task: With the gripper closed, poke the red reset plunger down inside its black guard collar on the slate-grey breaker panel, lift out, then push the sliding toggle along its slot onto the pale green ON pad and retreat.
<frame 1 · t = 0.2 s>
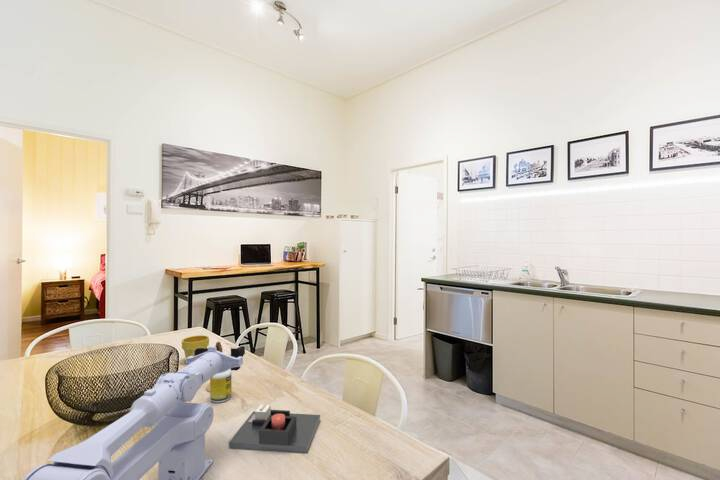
hand: (230, 349, 96), 21 cm above the table, tool horizontal, fingers open, 7 cm apart
plant pot: (195, 362, 144), on the table
hand bell: (218, 387, 120), on the table
sliding toggle: (262, 412, 96), point 4 cm above the table, slide at 0.0 cm
panel: (277, 433, 92), on the table
reset button: (278, 421, 88), point 5 cm above the table, slide at 0.0 cm
pill bottle: (221, 399, 112), on the table
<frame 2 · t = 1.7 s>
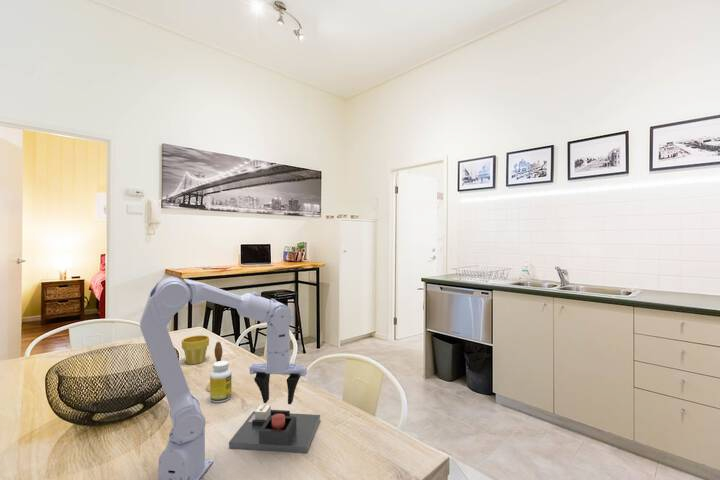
hand: (278, 401, 88), 10 cm above the table, tool pointing down, fingers open, 6 cm apart
nothing on the table moved.
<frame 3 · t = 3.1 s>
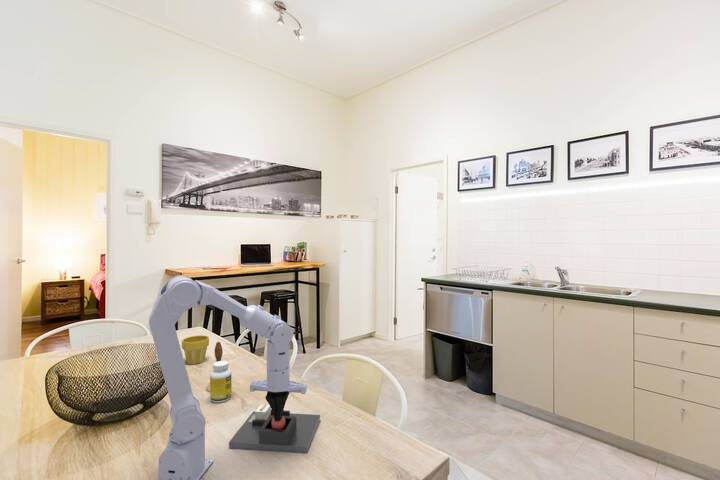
hand: (278, 419, 88), 6 cm above the table, tool pointing down, fingers closed, pressing on reset button
reset button: (278, 424, 88), point 5 cm above the table, slide at -0.6 cm, touching gripper
everything else where it was.
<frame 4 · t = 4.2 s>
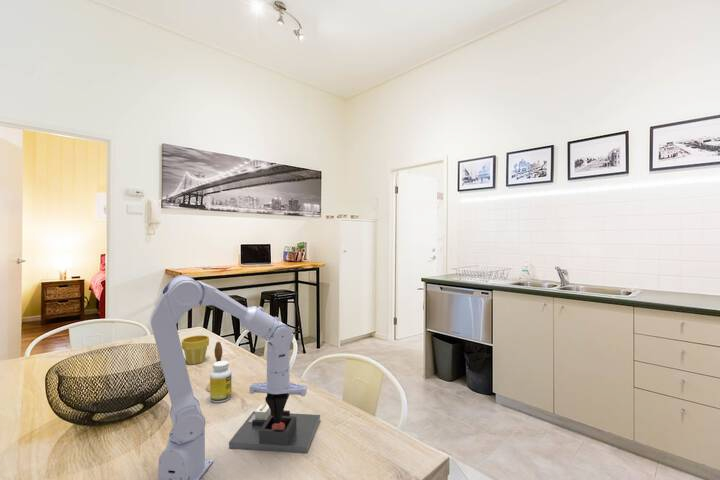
hand: (278, 421, 88), 5 cm above the table, tool pointing down, fingers closed
reset button: (278, 430, 89), point 3 cm above the table, slide at -2.3 cm
everything else where it was.
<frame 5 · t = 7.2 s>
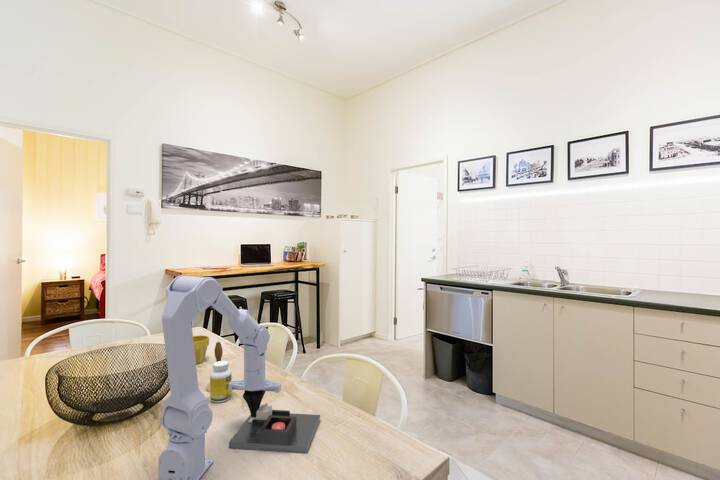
hand: (254, 415, 97), 2 cm above the table, tool pointing down, fingers closed
sliding toggle: (264, 412, 96), point 3 cm above the table, slide at 0.4 cm, touching gripper
everything else where it was.
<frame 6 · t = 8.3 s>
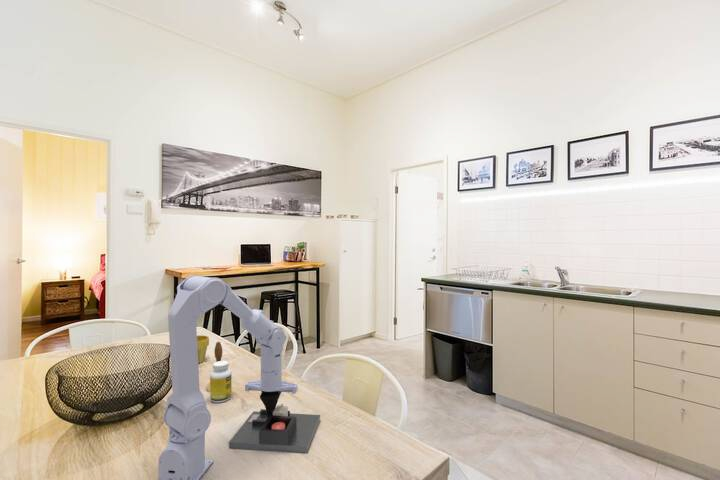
hand: (271, 416, 96), 2 cm above the table, tool pointing down, fingers closed
sliding toggle: (280, 413, 96), point 3 cm above the table, slide at 5.1 cm, touching gripper
everything else where it was.
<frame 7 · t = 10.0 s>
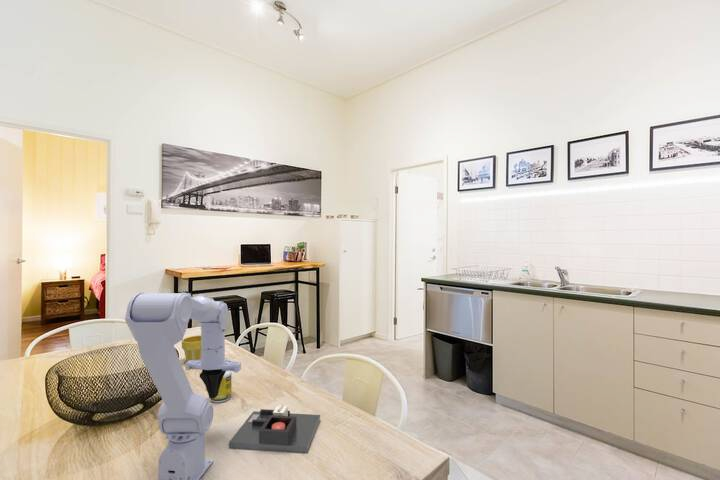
hand: (213, 396, 92), 10 cm above the table, tool pointing down, fingers closed
sliding toggle: (280, 413, 96), point 4 cm above the table, slide at 5.1 cm
everything else where it was.
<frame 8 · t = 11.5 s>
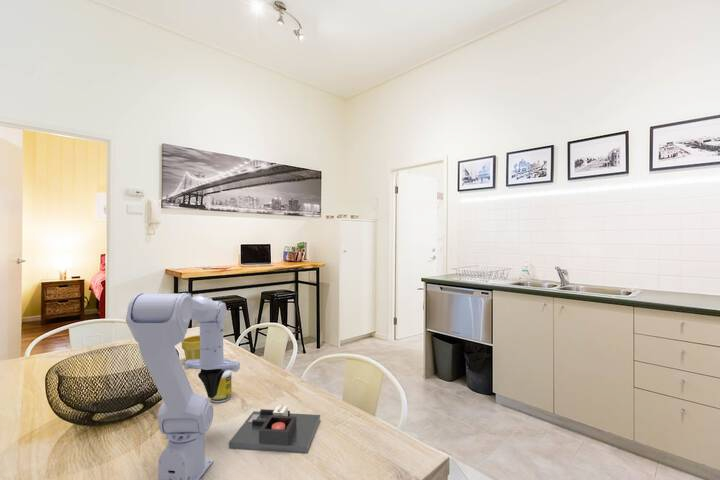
hand: (212, 396, 92), 10 cm above the table, tool pointing down, fingers closed
nothing on the table moved.
at the end: reset button slide at -2.3 cm; sliding toggle slide at 5.1 cm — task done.
